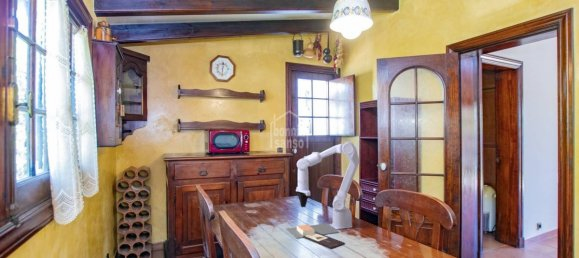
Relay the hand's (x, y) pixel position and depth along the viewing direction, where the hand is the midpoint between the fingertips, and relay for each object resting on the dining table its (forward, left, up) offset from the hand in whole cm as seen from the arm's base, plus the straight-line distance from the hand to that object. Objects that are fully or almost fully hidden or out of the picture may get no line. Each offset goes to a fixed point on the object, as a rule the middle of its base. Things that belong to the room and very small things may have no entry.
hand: (303, 206), depth 160 cm
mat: (0, +11, -9) cm, 14 cm away
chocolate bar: (+1, +25, -10) cm, 27 cm away
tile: (+4, +8, -8) cm, 12 cm away
